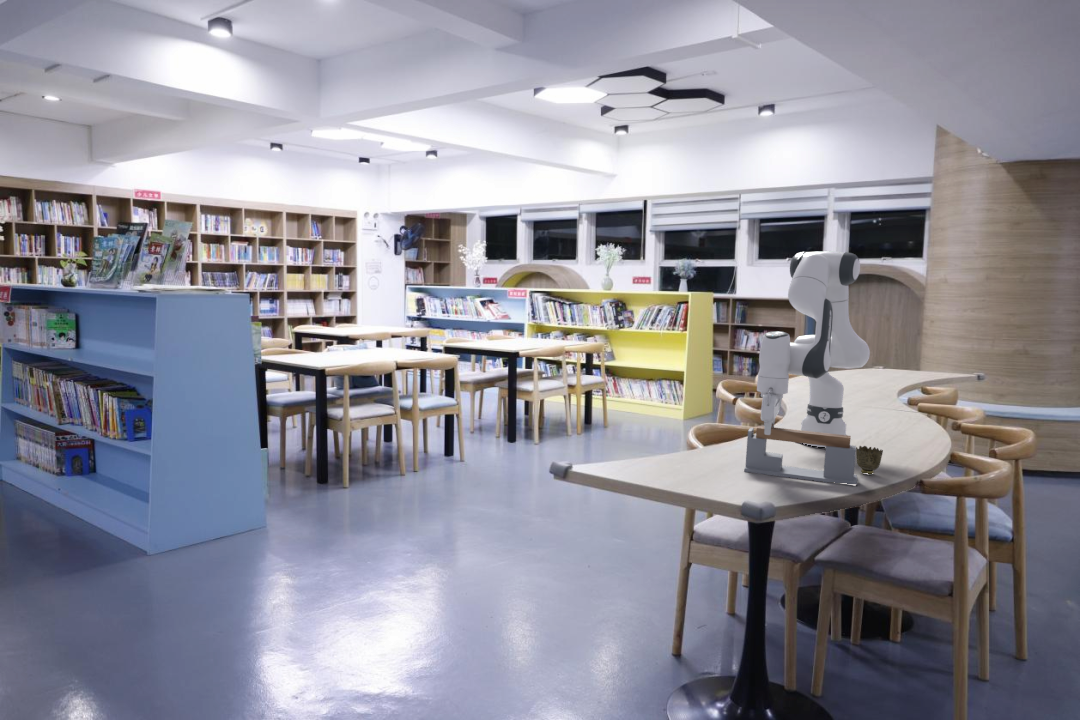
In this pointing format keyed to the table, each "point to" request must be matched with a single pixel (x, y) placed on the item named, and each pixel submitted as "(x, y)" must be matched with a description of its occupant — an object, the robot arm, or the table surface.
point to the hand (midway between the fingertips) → (769, 431)
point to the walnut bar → (805, 437)
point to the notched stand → (835, 468)
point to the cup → (868, 459)
